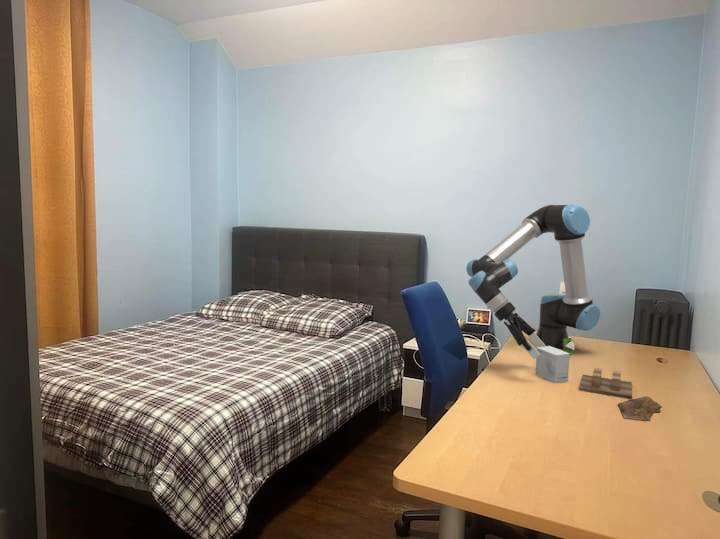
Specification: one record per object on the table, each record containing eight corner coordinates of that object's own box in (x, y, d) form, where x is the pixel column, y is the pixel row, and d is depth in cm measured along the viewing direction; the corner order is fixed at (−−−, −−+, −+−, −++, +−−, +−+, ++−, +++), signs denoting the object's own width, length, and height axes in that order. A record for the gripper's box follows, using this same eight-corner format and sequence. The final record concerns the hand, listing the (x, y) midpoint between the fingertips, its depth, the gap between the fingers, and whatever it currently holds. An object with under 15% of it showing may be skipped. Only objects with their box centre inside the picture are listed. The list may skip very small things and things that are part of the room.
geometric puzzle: (553, 345, 222) (561, 334, 217) (566, 344, 224) (575, 333, 219) (561, 358, 217) (570, 347, 212) (574, 357, 219) (583, 346, 214)
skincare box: (534, 374, 189) (536, 346, 187) (548, 372, 191) (550, 345, 190) (554, 383, 179) (556, 354, 178) (568, 381, 181) (570, 353, 180)
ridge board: (582, 377, 187) (583, 363, 186) (631, 384, 179) (632, 371, 179) (578, 390, 172) (579, 375, 172) (631, 399, 165) (633, 384, 165)
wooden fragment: (646, 426, 145) (646, 422, 145) (605, 414, 153) (606, 411, 153) (670, 403, 163) (671, 400, 163) (633, 394, 171) (633, 391, 171)
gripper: (501, 308, 203) (537, 350, 198) (485, 319, 181) (525, 367, 176) (515, 296, 200) (553, 339, 194) (501, 306, 178) (543, 354, 173)
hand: (540, 352), depth 185 cm, fingers open, 13 cm apart
